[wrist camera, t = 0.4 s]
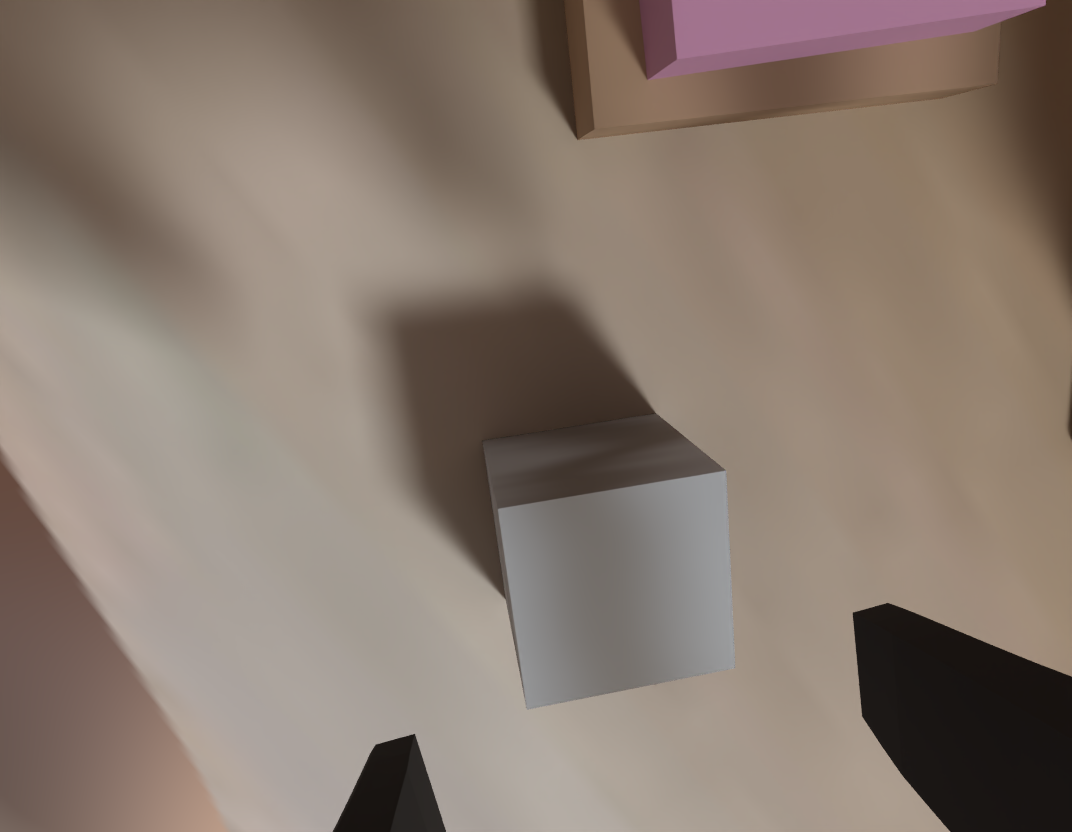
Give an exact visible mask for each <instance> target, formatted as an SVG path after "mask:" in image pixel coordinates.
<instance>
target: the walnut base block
mask: <svg viewBox="0 0 1072 832" xmlns="http://www.w3.org/2000/svg"><path fill="white" fill-rule="evenodd" d="M564 8H565V18H566V28H567V38H568V49H569V59H570V69H571V79H572V90H573V100H574V110H575V120H576V131H577V140H582V139H591V138H599V137H608V136H617V135H626V134H634V133H643V132H652V131H661V130H669V129H678V128H687V127H696V126H704V125H713V124H722V123H731V122H739V121H748V120H757V119H766V118H774V117H783V116H792V115H800V114H809V113H818V112H827V111H835V110H844V109H853V108H862V107H870V106H879V105H888V104H897V103H905V102H914V101H923V100H932V99H940V98H945V97H949V96H952V95H956V94H960V93H964V92H968V91H972V90H975V89H979V88H983V87H987V86H991V85H995V84H997V83H998V66H999V50H1000V33H1001V22H999V23H996V24H993V25H990V26H988V27H985V28H982V29H979V30H977V31H974V32H968V33H961V34H954V35H948V36H941V37H934V38H928V39H921V40H914V41H907V42H901V43H894V44H887V45H881V46H874V47H867V48H860V49H854V50H847V51H840V52H834V53H827V54H820V55H814V56H807V57H800V58H793V59H787V60H780V61H773V62H767V63H760V64H753V65H746V66H740V67H733V68H726V69H720V70H713V71H706V72H700V73H693V74H686V75H679V76H673V77H666V78H659V79H653V80H647V72H646V62H645V52H644V43H643V33H642V23H641V14H640V4H639V0H564Z"/></svg>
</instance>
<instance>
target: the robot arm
mask: <svg viewBox="0 0 1072 832" xmlns="http://www.w3.org/2000/svg"><path fill="white" fill-rule="evenodd" d="M853 621H854V632H855V643H856V654H857V665H858V675H859V686H860V697H861V708H862V717H863V718H864V720H865V721H866V723H867V724H868V726H869V727H870V729H871V730H872V732H873V733H874V735H875V736H876V738H877V739H878V741H879V742H880V744H881V746H882V747H883V749H884V750H885V751H886V753H887V754H888V756H889V757H890V758H891V760H892V761H893V763H894V764H895V766H896V767H897V768H898V770H899V771H900V773H901V774H902V776H903V777H904V778H905V779H906V780H907V782H908V783H909V784H910V785H911V786H912V787H913V789H914V790H915V791H916V792H917V793H918V795H919V796H920V797H921V798H922V799H923V800H924V802H925V803H926V804H927V805H928V806H929V807H930V809H931V810H932V811H933V812H934V813H935V814H936V816H937V817H938V818H939V819H940V820H941V821H942V823H943V824H944V825H945V826H946V827H947V828H948V829H949V831H950V832H1072V677H1071V676H1069V675H1066V674H1063V673H1061V672H1058V671H1055V670H1053V669H1050V668H1048V667H1045V666H1042V665H1040V664H1037V663H1035V662H1032V661H1030V660H1027V659H1025V658H1022V657H1020V656H1017V655H1015V654H1012V653H1010V652H1007V651H1005V650H1002V649H1000V648H998V647H995V646H993V645H990V644H988V643H985V642H983V641H981V640H978V639H976V638H973V637H971V636H969V635H966V634H964V633H962V632H959V631H957V630H954V629H952V628H950V627H947V626H945V625H942V624H940V623H938V622H935V621H933V620H930V619H928V618H926V617H923V616H921V615H918V614H916V613H913V612H911V611H908V610H906V609H903V608H900V607H898V606H895V605H892V604H889V603H886V604H883V605H879V606H875V607H872V608H868V609H865V610H861V611H857V612H854V613H853ZM333 832H446V830H445V827H444V824H443V821H442V817H441V814H440V811H439V808H438V805H437V802H436V799H435V796H434V792H433V789H432V786H431V783H430V780H429V777H428V774H427V771H426V767H425V764H424V761H423V758H422V755H421V752H420V749H419V746H418V743H417V739H416V736H415V734H413V735H409V736H406V737H402V738H398V739H395V740H391V741H387V742H384V743H380V744H377V745H375V747H374V748H373V750H372V751H371V753H370V755H369V757H368V760H367V762H366V764H365V766H364V768H363V770H362V772H361V775H360V777H359V779H358V781H357V783H356V785H355V787H354V789H353V792H352V794H351V796H350V798H349V800H348V802H347V804H346V806H345V808H344V810H343V812H342V814H341V816H340V818H339V820H338V822H337V824H336V826H335V828H334V830H333Z"/></svg>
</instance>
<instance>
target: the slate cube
mask: <svg viewBox="0 0 1072 832" xmlns="http://www.w3.org/2000/svg"><path fill="white" fill-rule="evenodd" d="M482 442H483V449H484V456H485V462H486V469H487V476H488V483H489V489H490V496H491V503H492V510H493V516H494V523H495V530H496V537H497V544H498V550H499V557H500V564H501V571H502V577H503V584H504V591H505V598H506V603H507V609H508V614H509V619H510V624H511V629H512V635H513V640H514V645H515V650H516V655H517V661H518V666H519V671H520V676H521V681H522V687H523V692H524V697H525V702H526V708H527V709H532V708H537V707H542V706H547V705H553V704H558V703H563V702H568V701H573V700H578V699H583V698H588V697H593V696H598V695H603V694H608V693H613V692H618V691H623V690H628V689H633V688H638V687H643V686H648V685H653V684H658V683H663V682H668V681H673V680H678V679H683V678H688V677H693V676H698V675H703V674H708V673H713V672H718V671H723V670H728V669H733V668H735V653H734V631H733V609H732V587H731V566H730V544H729V522H728V501H727V479H726V470H725V469H724V468H722V467H721V466H720V465H719V464H717V463H716V462H715V461H714V460H712V459H711V458H710V457H709V456H708V455H706V454H705V453H704V452H703V451H701V450H700V449H699V448H698V447H697V446H695V445H694V444H693V443H692V442H690V441H689V440H688V439H687V438H686V437H684V436H683V435H682V434H681V433H679V432H678V431H677V430H676V429H675V428H673V427H672V426H671V425H670V424H668V423H667V422H666V421H665V420H663V419H662V418H661V417H660V416H659V415H657V414H650V415H643V416H637V417H631V418H624V419H618V420H611V421H605V422H599V423H592V424H586V425H579V426H573V427H567V428H560V429H554V430H548V431H541V432H535V433H528V434H522V435H516V436H509V437H503V438H496V439H490V440H484V441H482Z"/></svg>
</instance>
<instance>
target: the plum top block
mask: <svg viewBox="0 0 1072 832" xmlns="http://www.w3.org/2000/svg"><path fill="white" fill-rule="evenodd" d="M639 4H640V14H641V23H642V33H643V43H644V52H645V62H646V72H647V80H653V79H659V78H666V77H673V76H679V75H686V74H693V73H700V72H706V71H713V70H720V69H726V68H733V67H740V66H746V65H753V64H760V63H767V62H773V61H780V60H787V59H793V58H800V57H807V56H814V55H820V54H827V53H834V52H840V51H847V50H854V49H860V48H867V47H874V46H881V45H887V44H894V43H901V42H907V41H914V40H921V39H928V38H934V37H941V36H948V35H954V34H961V33H968V32H974V31H977V30H979V29H982V28H985V27H988V26H990V25H993V24H996V23H999V22H1001V21H1004V20H1007V19H1009V18H1012V17H1015V16H1018V15H1020V14H1023V13H1026V12H1029V11H1031V10H1034V9H1037V8H1039V7H1042V6H1045V5H1046V0H639Z"/></svg>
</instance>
